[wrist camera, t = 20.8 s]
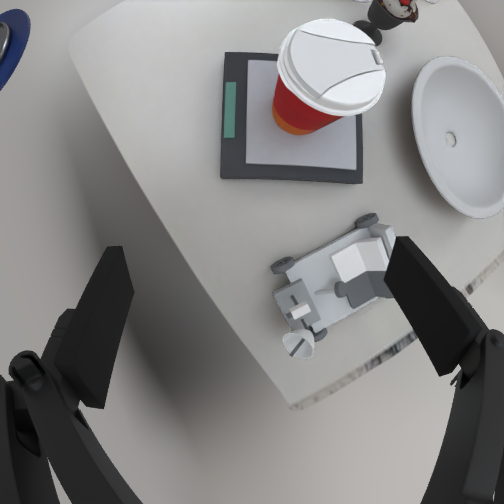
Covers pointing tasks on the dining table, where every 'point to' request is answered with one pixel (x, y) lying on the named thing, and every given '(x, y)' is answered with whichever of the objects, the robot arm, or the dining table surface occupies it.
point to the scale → (279, 131)
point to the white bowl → (461, 134)
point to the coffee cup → (325, 76)
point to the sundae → (387, 17)
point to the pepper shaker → (432, 1)
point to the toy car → (333, 283)
